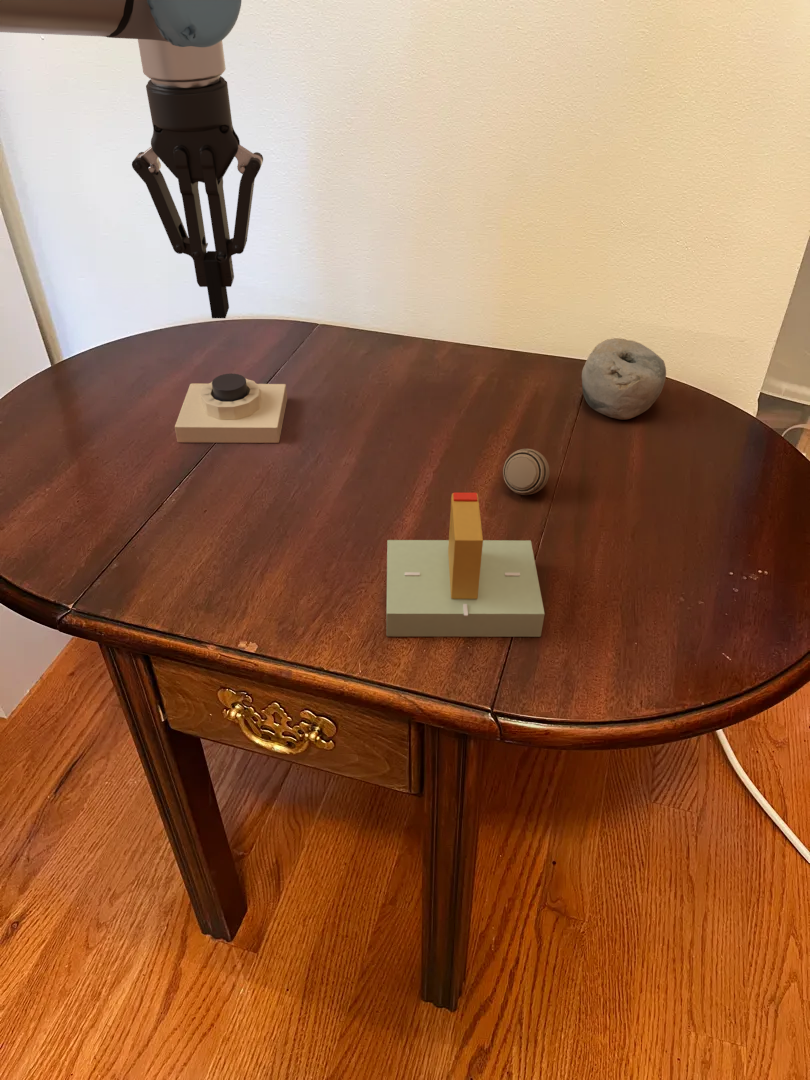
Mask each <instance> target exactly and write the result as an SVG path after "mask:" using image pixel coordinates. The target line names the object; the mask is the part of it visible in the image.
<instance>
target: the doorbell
mask: <svg viewBox="0 0 810 1080" xmlns="http://www.w3.org/2000/svg"><path fill="white" fill-rule="evenodd" d="M244 378H245V379H246V384H247V392H248V394H247V396H246V397H244V398H243V399H240V400H237V401H233V402H222V401H219V400H216V399H215V398H214V394H213V387H212V381H211V382H209V383H190V384H189V387H188V389H187V392H186V394H185V397H184V399H183V403H182V406H181V408H180V411H179V414H178V417H177V419H176V422H175V424H174V431H175V432H174V433H175V437H176V441H177V443H210V444H211V443H212V444H213V443H215V444H217V443H221V444H222V443H226V444H227V443H231V444H234V443H235V444H237V443H238V444H242V443H245V444H253V443H254V444H279V443H280V439H281V434H282V429H283V423H284V418H285V413H286V407H287V403H288V392H287V384H286V383H257V382H255V380H252V379H249V378H246V377H244Z"/></svg>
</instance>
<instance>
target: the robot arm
mask: <svg viewBox="0 0 810 1080" xmlns="http://www.w3.org/2000/svg"><path fill="white" fill-rule="evenodd" d="M242 1H243V0H0V33H8V34H9V33H10V34H12V33H13V34H31V35H33V34H34V35H35V34H36V35H58V36H59V35H60V36H82V37H103V38H104V37H105V38H112V39H129V40H130V39H131V40H137V42H138V43H137V44H138V49H139V56H140V61H141V67H142V73H143V75H145V77H147V78H148V79H149V80H148V81H147V83H146V84H145V89H146V94H147V95H146V96H147V100H148V106H149V112H150V117H151V123H152V128H153V130H152V131H153V132H152V137H151V139H150V147H148V148H147V149H146V150H144V151H140V152H138V153H137V155H136V156H135V158H133V161H132V162H131V168H132V169H133V170H134V172H135V173H136V175H137V176H139V178H140V179H141V180H142V181H143V182H144V183H145V185H146V188H147V190H148V192H149V195H150V197H151V200H152V202H153V205H154V207H155V209H156V211H157V212H156V213H157V214H158V216H159V218H160V222H161V223H162V226H163V228H164V230H165V233H166V235H167V237H168V240H169V242H170V245H171V247H172V249H173V251H174V253H176V254H177V255H181V254H182V255H183V254H185V255H187V256H189V257H191V259H192V261H193V265H194V272H195V278H196V283H197V285H198V286H199V287H200V288H207V294H208V301H209V308H210V314H211V319H226V318H227V315H228V312H229V310H230V304H229V297H228V289H227V288H231V287H232V285H233V282H234V280H235V273H234V272H235V271H234V265H233V258H232V256H235V255H236V254H237V255H241V254H243V252H244V250H245V248H246V245H247V243H248V234H249V227H250V220H251V211H252V203H253V195H254V189H255V188H254V187H255V182H256V181H255V179H256V178H257V176H258V174H259V172H260V170H261V168H262V165H263V163H264V156H263V155H262V154H261V153H260V152H258V151H256V152H252V151H251V150H249V149H247V148H246V147H245V146H243V145H241V143H240V142H241V141H240V138H239V135H238V134H237V133H236V131H235V129H234V126H233V120H232V112H231V111H232V110H231V103H230V95H229V94H230V93H229V85H228V81H226V79H225V78H224V77H223V76H222V75H223V74H224V72H225V71H226V70H227V69H226V68H227V67H226V61H225V54H224V53H225V52H224V45H223V40H225V38H226V37H227V36H228V35H229V34H230V33H231V31H232V30H233V28H234V27H235V25H236V23H237V22H238V21H237V20H238V18H239V15H240V12H241V7H242ZM234 159H236V160H237V166H236V169H237V171H238V172H239V173H240V174H241V177H240V181H239V187H238V195H237V203H236V211H235V212H236V213H235V221H234V227H233V228H234V231H233V237H232V238H231V235H230V229H229V221H228V214H227V206H226V198H225V192H224V176H225V174H226V173H227V171H228V169H229V167H230V166H231V164H232V163H233V160H234ZM161 162H162V163H163V164H164V165H165V167H166V168H167V169H168V170H169V171H170V172H171V173H172V175H173V176H174V177H175V178H176V179H177V180H178V181H177V182H178V188H179V193H180V194H181V198H182V204H183V212H184V217H185V224H186V228H185V225H184V223H183V221H182V218H181V216H180V213H179V211H178V209H177V206H176V204H175V201H174V199H173V196H172V194H171V191H170V189H169V186H168V184H167V182H166V179H165V177H164V175H163V173H162V171H161V167H162V163H161ZM199 183H203V184H204V190H205V194H206V196H207V203H208V209H209V215H210V216H209V217H210V223H211V231H212V236H213V244H214V250H207V248H208V245H209V242H207V239H206V232H205V225H204V218H203V210H202V205H201V198H200V191H199ZM186 229H187V231H186Z"/></svg>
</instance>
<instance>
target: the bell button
mask: <svg viewBox="0 0 810 1080" xmlns="http://www.w3.org/2000/svg"><path fill="white" fill-rule="evenodd" d="M245 378H246V377H245V376H243V375H241V374H239V373H231V372H230V373H223V374H220V375H218V376H216V377H215V378H213V380H212V381H211V382H212V387H213V394H214V398H215V399H216V400H219V401H222V402H233V401H237V400H240V399H243V398H244V397H246V396H247V394H248V392H247V384H246V379H247V378H246V379H245Z"/></svg>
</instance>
